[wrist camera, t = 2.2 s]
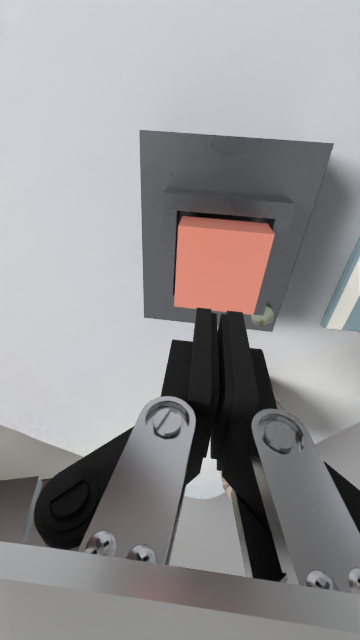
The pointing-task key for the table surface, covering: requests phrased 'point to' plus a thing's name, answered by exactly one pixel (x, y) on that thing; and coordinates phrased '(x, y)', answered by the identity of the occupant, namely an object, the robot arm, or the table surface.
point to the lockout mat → (346, 298)
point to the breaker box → (225, 206)
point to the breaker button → (221, 263)
